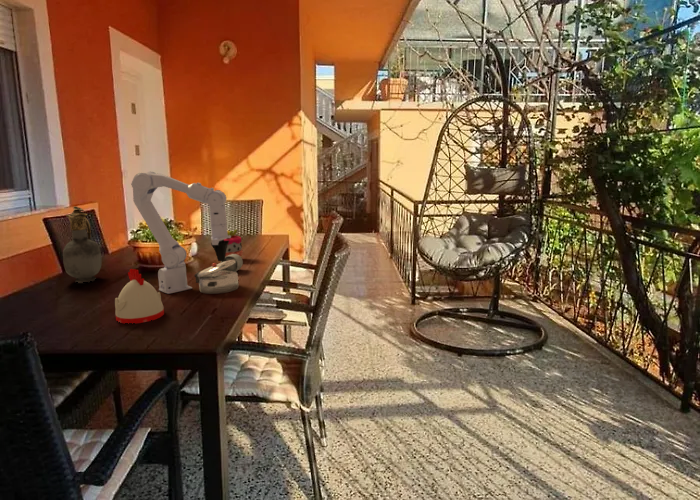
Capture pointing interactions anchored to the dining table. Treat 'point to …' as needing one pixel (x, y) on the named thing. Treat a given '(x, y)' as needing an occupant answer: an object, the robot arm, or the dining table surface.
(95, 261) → the grey rounded bottle shape
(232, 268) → the ceramic mug
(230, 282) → the cooker pot
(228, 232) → the cake
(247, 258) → the dining table surface
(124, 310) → the kitchen timer
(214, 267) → the cooker lid
